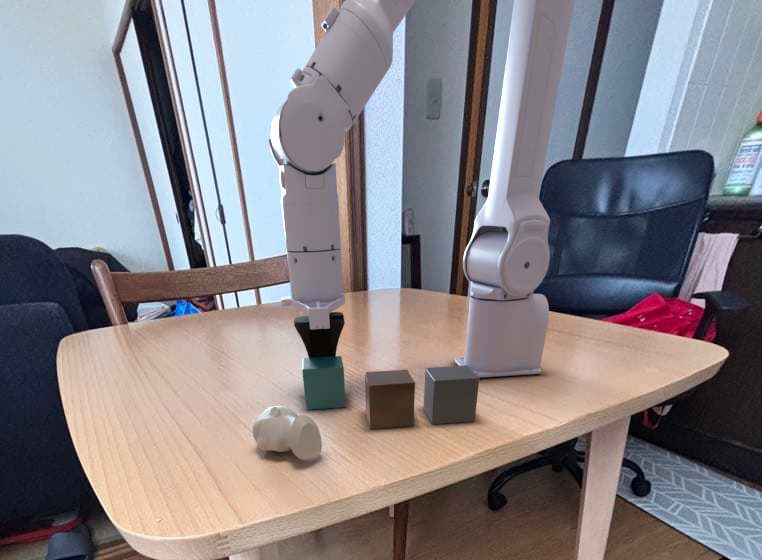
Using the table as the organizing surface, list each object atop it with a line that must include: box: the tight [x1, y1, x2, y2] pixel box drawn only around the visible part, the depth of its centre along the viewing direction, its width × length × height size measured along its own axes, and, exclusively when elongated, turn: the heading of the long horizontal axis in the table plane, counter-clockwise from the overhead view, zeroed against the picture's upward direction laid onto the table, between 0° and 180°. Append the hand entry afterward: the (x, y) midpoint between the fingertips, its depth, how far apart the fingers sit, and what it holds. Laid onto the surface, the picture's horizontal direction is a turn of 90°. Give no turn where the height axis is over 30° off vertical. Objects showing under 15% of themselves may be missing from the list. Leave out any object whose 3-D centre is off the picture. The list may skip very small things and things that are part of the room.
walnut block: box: [364, 369, 416, 430], centre depth 48 cm, size 4×4×4 cm
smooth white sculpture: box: [252, 405, 323, 461], centre depth 43 cm, size 4×8×5 cm
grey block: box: [423, 365, 481, 425], centre depth 49 cm, size 4×4×4 cm
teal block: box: [301, 355, 347, 411], centre depth 54 cm, size 4×4×4 cm
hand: (324, 380), depth 57 cm, fingers closed
